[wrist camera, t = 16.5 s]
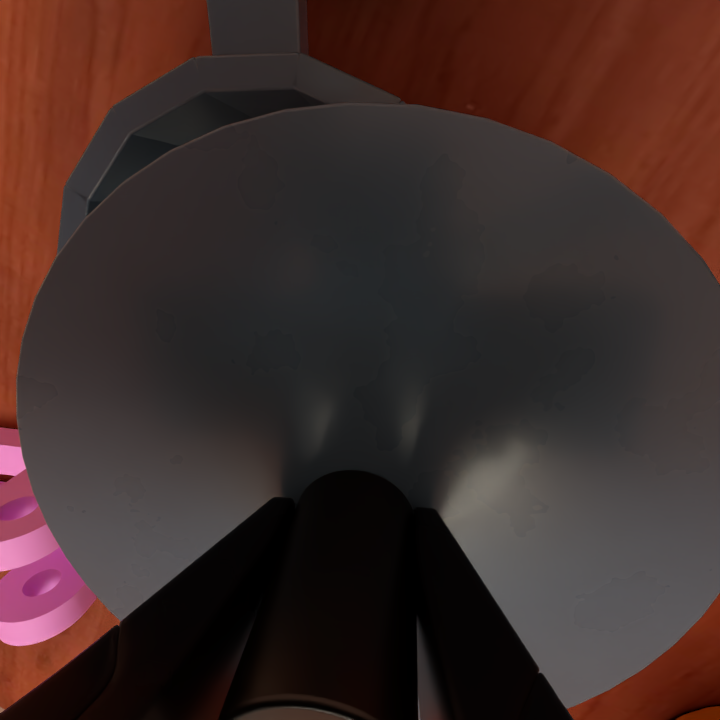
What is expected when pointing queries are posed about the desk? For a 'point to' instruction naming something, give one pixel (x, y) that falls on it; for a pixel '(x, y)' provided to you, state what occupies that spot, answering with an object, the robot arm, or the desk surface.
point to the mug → (703, 714)
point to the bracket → (32, 561)
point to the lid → (384, 396)
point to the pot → (211, 97)
